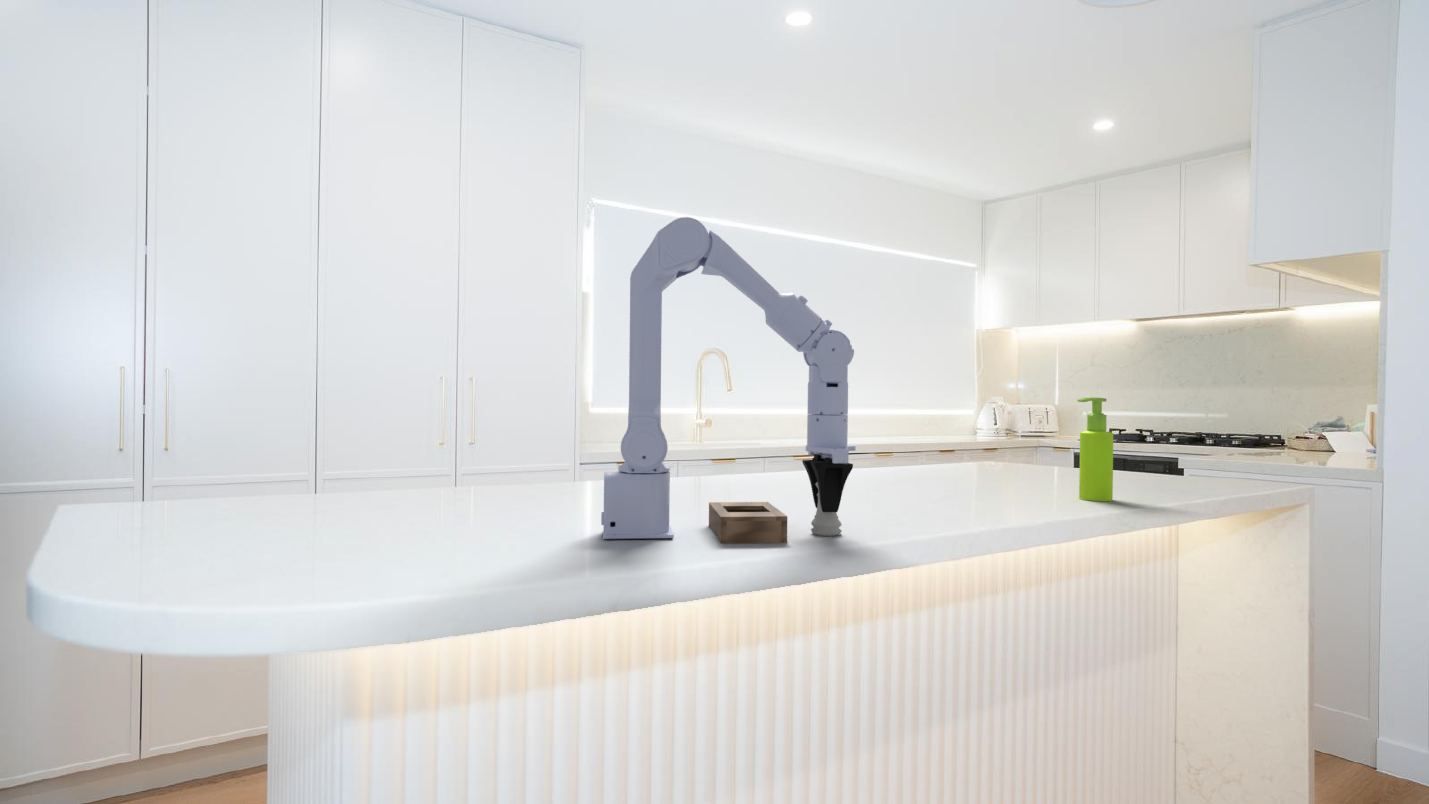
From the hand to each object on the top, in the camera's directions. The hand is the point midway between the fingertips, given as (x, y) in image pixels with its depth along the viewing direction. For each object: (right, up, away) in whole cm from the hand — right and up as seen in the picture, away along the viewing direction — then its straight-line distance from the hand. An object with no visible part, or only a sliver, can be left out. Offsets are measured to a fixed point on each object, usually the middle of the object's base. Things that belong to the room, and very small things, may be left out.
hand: (826, 510), depth 111 cm
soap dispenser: (+58, -4, +41) cm, 72 cm away
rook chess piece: (0, -4, 0) cm, 4 cm away
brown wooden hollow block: (-12, -3, 0) cm, 12 cm away
